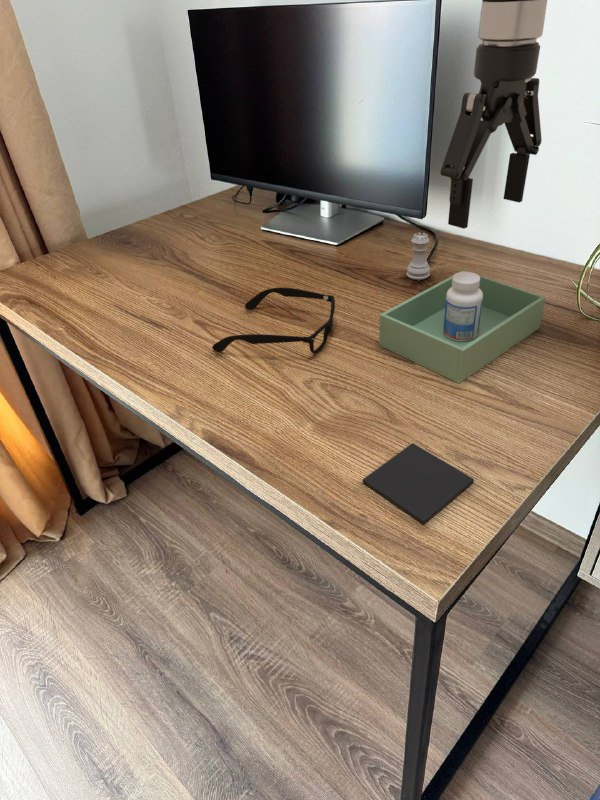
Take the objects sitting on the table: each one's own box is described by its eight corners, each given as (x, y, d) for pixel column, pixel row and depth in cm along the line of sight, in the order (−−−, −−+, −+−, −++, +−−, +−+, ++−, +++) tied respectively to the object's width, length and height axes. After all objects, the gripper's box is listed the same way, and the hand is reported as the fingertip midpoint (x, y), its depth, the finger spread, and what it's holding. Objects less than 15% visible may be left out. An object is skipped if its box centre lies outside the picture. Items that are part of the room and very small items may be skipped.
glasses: (316, 371, 89) (317, 343, 86) (209, 354, 93) (206, 326, 90) (342, 318, 101) (343, 292, 98) (247, 305, 106) (245, 280, 103)
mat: (473, 482, 67) (474, 479, 67) (423, 525, 63) (424, 521, 62) (412, 446, 73) (412, 442, 73) (362, 483, 68) (362, 479, 68)
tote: (539, 328, 94) (546, 296, 90) (459, 383, 83) (463, 350, 80) (460, 298, 103) (463, 269, 100) (378, 345, 92) (379, 314, 89)
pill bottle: (455, 321, 96) (461, 266, 90) (484, 332, 93) (493, 275, 87) (435, 335, 93) (440, 278, 87) (465, 346, 90) (472, 288, 84)
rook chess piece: (406, 270, 113) (408, 230, 109) (429, 270, 113) (432, 230, 108) (406, 281, 110) (408, 240, 105) (430, 281, 109) (433, 239, 104)
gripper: (535, 29, 81) (511, 186, 93) (419, 53, 68) (410, 231, 81) (588, 30, 76) (555, 195, 89) (474, 57, 63) (455, 244, 76)
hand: (486, 212), depth 85 cm, fingers open, 13 cm apart
